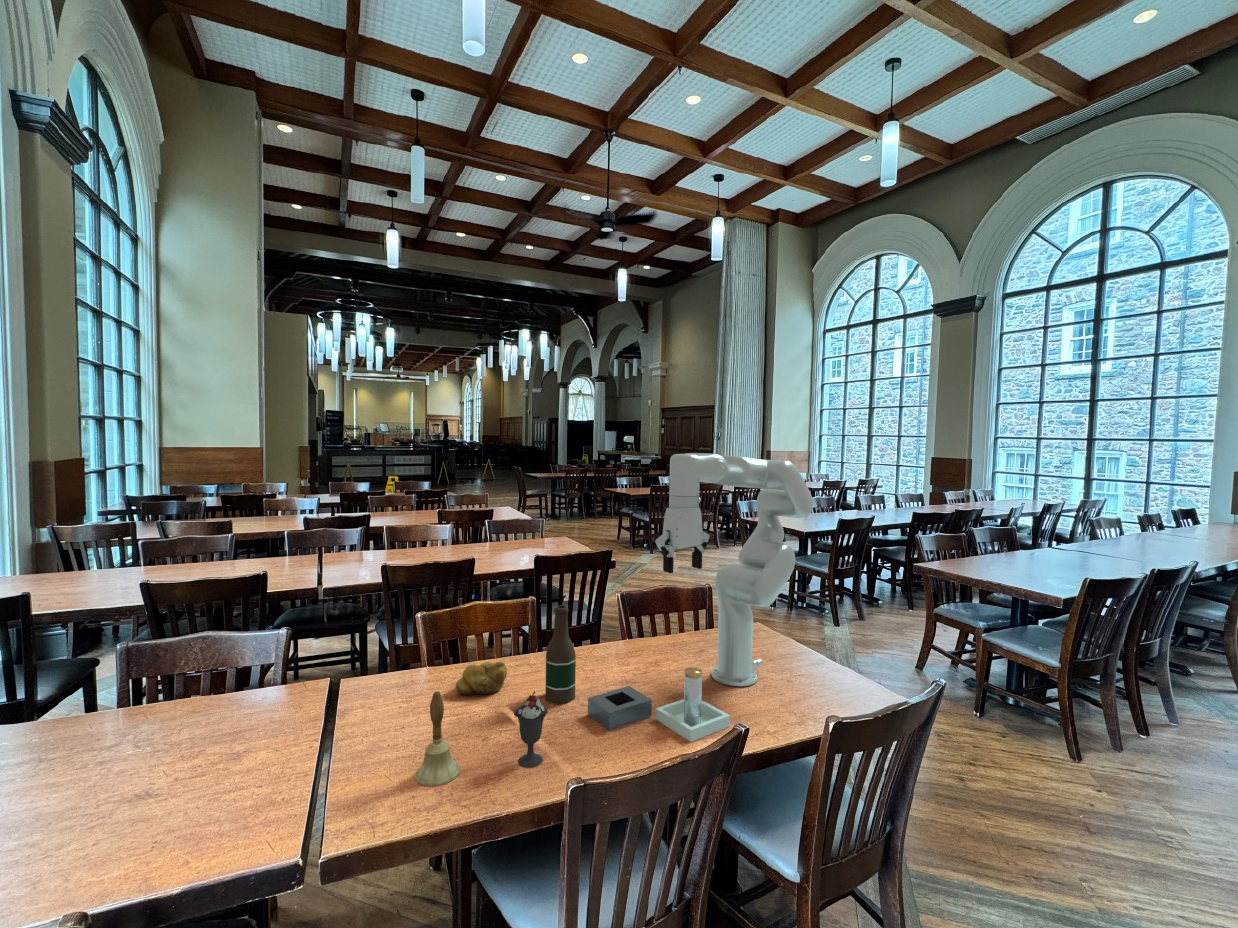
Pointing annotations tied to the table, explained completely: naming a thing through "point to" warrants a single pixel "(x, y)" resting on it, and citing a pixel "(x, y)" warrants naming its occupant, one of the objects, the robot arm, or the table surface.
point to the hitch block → (619, 707)
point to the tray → (709, 724)
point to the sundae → (530, 728)
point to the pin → (692, 696)
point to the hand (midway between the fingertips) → (682, 569)
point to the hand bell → (437, 752)
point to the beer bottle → (560, 661)
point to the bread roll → (482, 678)
